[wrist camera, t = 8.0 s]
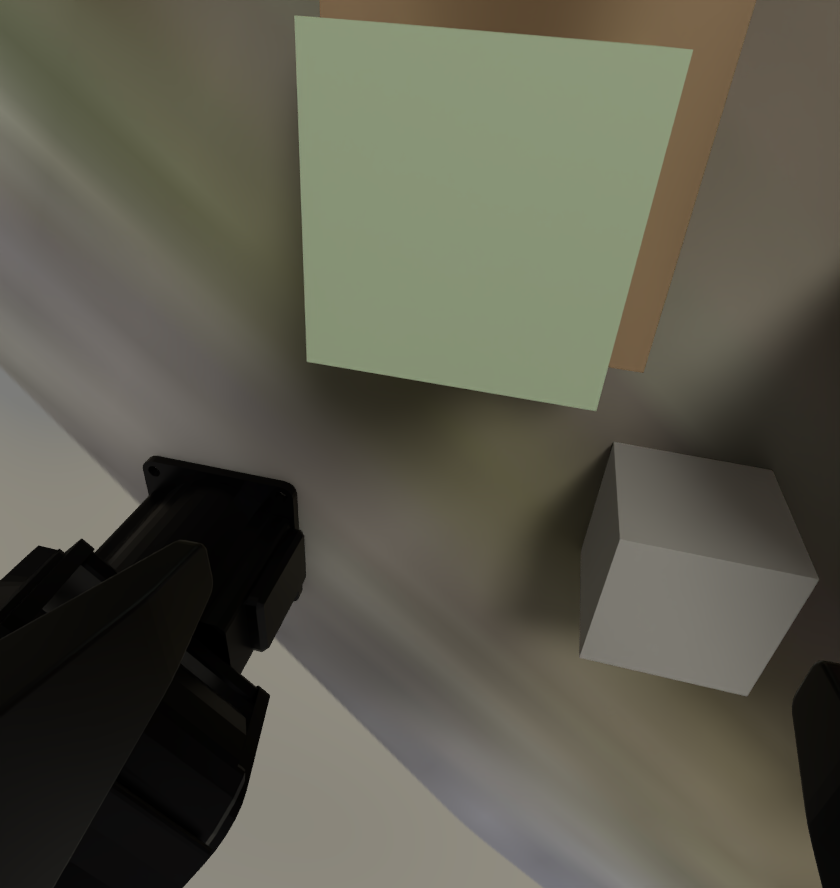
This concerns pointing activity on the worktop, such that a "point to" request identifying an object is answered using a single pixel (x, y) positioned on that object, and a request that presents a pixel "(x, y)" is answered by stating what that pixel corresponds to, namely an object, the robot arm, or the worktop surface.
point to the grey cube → (690, 569)
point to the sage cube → (476, 200)
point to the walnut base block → (697, 118)
